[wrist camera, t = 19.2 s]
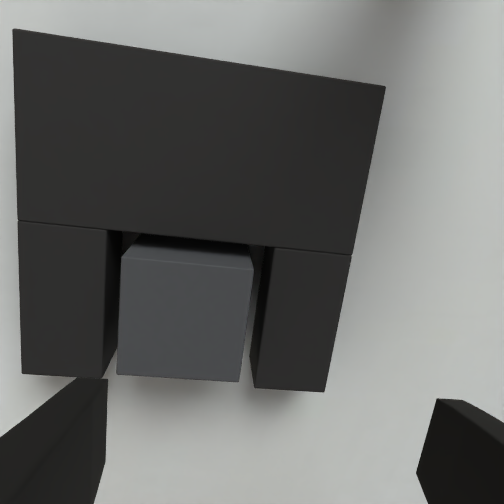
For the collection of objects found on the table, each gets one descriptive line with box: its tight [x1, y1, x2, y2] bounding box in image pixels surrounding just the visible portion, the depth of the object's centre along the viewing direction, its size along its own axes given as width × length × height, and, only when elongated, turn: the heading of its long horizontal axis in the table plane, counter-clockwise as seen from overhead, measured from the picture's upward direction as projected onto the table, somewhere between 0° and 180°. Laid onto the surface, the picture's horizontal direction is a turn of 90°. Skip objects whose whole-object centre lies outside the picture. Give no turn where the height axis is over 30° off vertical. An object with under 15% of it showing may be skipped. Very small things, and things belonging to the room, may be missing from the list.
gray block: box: [116, 234, 254, 382], centre depth 16 cm, size 4×4×4 cm
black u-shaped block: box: [13, 29, 386, 392], centre depth 15 cm, size 12×12×2 cm
